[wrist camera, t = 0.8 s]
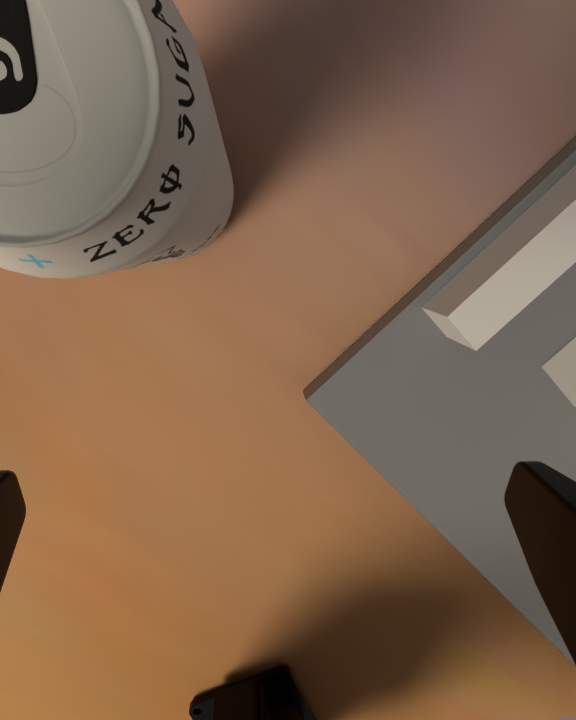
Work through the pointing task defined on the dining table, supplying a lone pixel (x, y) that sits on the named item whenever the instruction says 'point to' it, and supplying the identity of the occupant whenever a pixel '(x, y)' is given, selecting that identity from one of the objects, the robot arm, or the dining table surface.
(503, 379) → the breaker panel
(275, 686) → the robot arm
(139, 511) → the dining table surface
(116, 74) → the energy drink can
